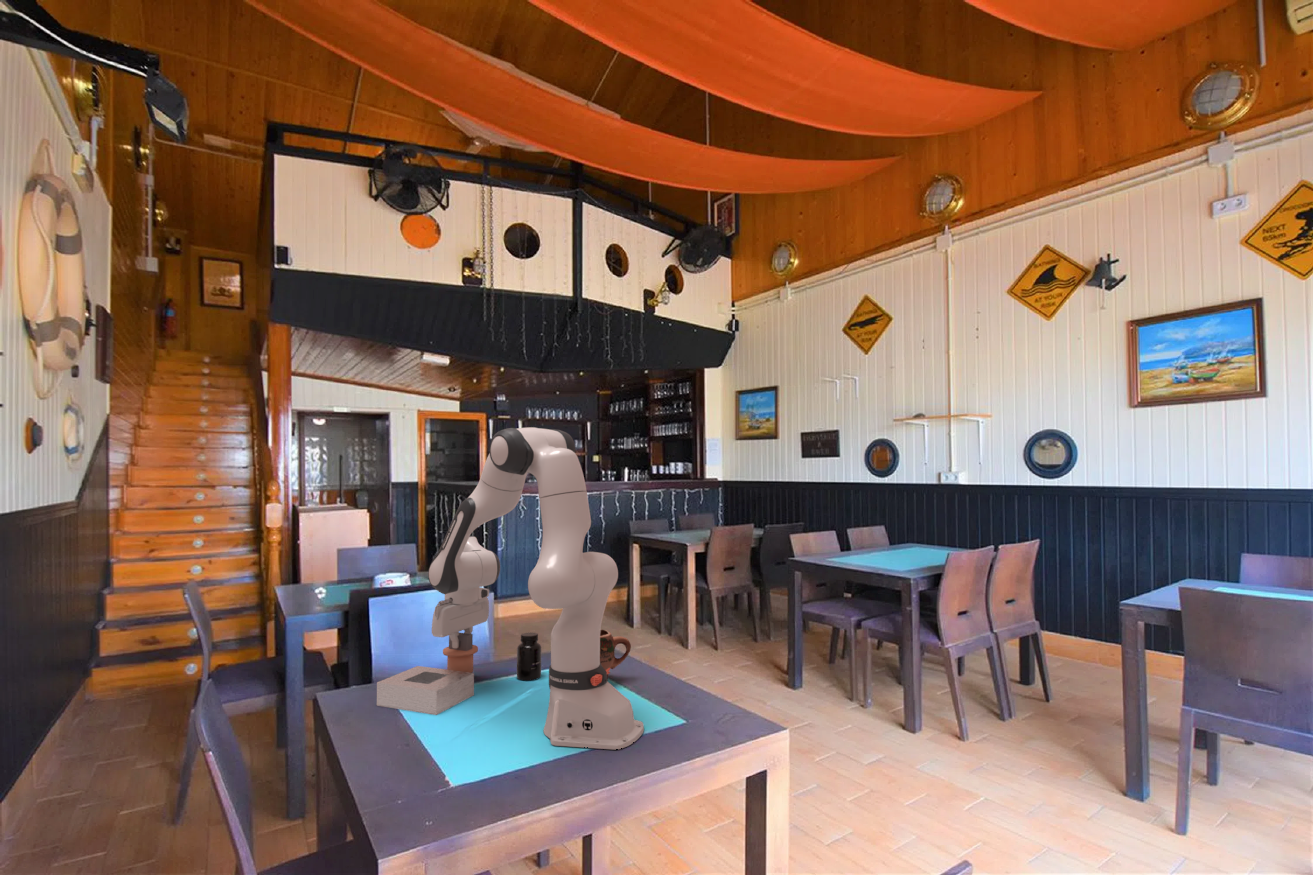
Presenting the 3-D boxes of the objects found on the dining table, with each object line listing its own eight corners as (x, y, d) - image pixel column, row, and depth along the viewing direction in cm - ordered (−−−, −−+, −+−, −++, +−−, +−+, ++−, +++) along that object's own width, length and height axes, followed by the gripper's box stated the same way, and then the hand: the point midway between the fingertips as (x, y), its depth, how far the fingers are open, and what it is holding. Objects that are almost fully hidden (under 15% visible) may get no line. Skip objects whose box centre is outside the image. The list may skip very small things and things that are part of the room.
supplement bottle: (538, 681, 177) (538, 637, 178) (514, 681, 178) (514, 637, 178) (543, 673, 184) (543, 631, 185) (519, 673, 184) (519, 631, 185)
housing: (473, 700, 163) (473, 672, 163) (436, 721, 149) (436, 690, 150) (417, 692, 169) (417, 665, 169) (376, 711, 156) (376, 682, 156)
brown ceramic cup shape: (622, 671, 185) (622, 622, 186) (637, 684, 174) (637, 632, 175) (554, 681, 177) (554, 630, 178) (565, 695, 166) (565, 640, 167)
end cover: (484, 669, 178) (485, 631, 178) (463, 679, 169) (463, 639, 170) (457, 665, 181) (457, 628, 182) (435, 675, 172) (435, 636, 173)
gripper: (445, 603, 165) (445, 657, 165) (492, 589, 184) (492, 637, 184) (425, 601, 168) (425, 654, 167) (474, 587, 187) (474, 635, 186)
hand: (460, 645), depth 175 cm, fingers closed on end cover, 2 cm apart
